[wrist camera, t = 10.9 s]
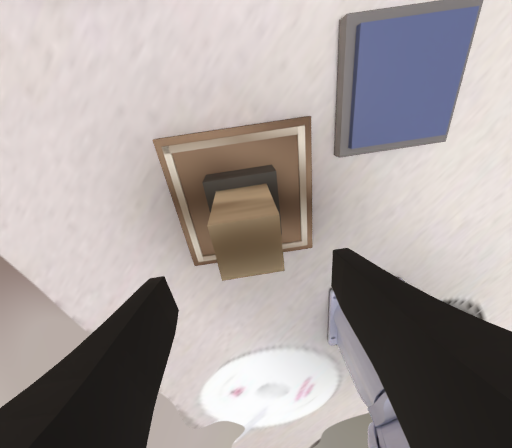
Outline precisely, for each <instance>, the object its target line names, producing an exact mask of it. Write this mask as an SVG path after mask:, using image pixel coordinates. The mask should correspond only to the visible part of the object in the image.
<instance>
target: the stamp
mask: <svg viewBox="0 0 512 448" xmlns="http://www.w3.org/2000/svg"><path fill="white" fill-rule="evenodd" d="M202 184H203V187H204V191H205V195H206V199H207V203H208V207H209V211H210V217H209V221H208V225H207V227H208V230H209V234H210V238H211V241H212V245H213V249H214V252H215V256H216V259H217V263H218V267H219V270H220V274H221V278H222V281H223V280H230V279H236V278H242V277H248V276H255V275H261V274H267V273H273V272H279V271H285V270H284V259H283V248H282V237H281V235H282V228H281V217H280V206H279V195H278V184H277V174H276V170H275V168H274V167H273V165H266V166H259V167H253V168H246V169H240V170H234V171H227V172H221V173H214V174H208V175H206V176H205V178H204V180H203V182H202Z"/></svg>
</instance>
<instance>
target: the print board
mask: <svg viewBox="0 0 512 448" xmlns="http://www.w3.org/2000/svg"><path fill="white" fill-rule="evenodd" d="M153 143H154V146H155V149H156V152H157V155H158V158H159V161H160V164H161V167H162V170H163V173H164V176H165V179H166V181H167V184H168V187H169V190H170V193H171V196H172V199H173V202H174V205H175V208H176V211H177V214H178V217H179V220H180V223H181V226H182V229H183V232H184V235H185V238H186V241H187V244H188V247H189V250H190V253H191V256H192V259H193V262H194V265H195V266H198V265H204V264H211V263H217V259H216V256H215V252H214V249H213V245H212V241H211V238H210V234H209V230H208V227H207V225H208V221H209V217H210V211H209V207H208V203H207V199H206V195H205V191H204V187H203V184H202V182H203V180H204V178H205V176H206V175H208V174H214V173H221V172H227V171H234V170H240V169H246V168H253V167H259V166H266V165H273V167H274V168H275V170H276V174H277V184H278V195H279V206H280V217H281V228H282V235H281V237H282V248H283V252H288V251H294V250H301V249H307V248H312V164H311V116H307V117H300V118H294V119H287V120H280V121H273V122H267V123H260V124H253V125H247V126H240V127H233V128H226V129H220V130H213V131H206V132H200V133H193V134H186V135H179V136H173V137H166V138H159V139H154V140H153Z"/></svg>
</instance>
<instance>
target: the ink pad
mask: <svg viewBox="0 0 512 448" xmlns="http://www.w3.org/2000/svg"><path fill="white" fill-rule="evenodd" d="M482 3H483V0H439V1H432V2H425V3H418V4H411V5H404V6H397V7H391V8H384V9H377V10H370V11H363V12H356V13H349V14H346V15H345V16H344V17H343V18H342V19H341V20H340V23H339V49H338V74H337V100H336V126H335V151H334V155H335V156H338V157H346V156H353V155H360V154H366V153H373V152H379V151H386V150H393V149H399V148H406V147H412V146H419V145H426V144H432V143H439V142H445V141H446V138H447V134H448V131H449V127H450V123H451V119H452V116H453V112H454V108H455V104H456V101H457V97H458V93H459V89H460V86H461V82H462V78H463V74H464V71H465V67H466V63H467V59H468V56H469V52H470V48H471V44H472V41H473V37H474V33H475V29H476V26H477V22H478V18H479V14H480V11H481V7H482Z"/></svg>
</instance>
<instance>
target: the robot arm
mask: <svg viewBox="0 0 512 448" xmlns="http://www.w3.org/2000/svg"><path fill="white" fill-rule="evenodd" d="M331 286H332V290H331V291H330V303H329V327H328V343H329V345H338V347H339V350H340V352H341V354H342V357H343V359H344V361H345V364H346V366H347V368H348V371H349V373H350V375H351V377H352V380H353V382H354V384H355V387H356V389H357V391H358V393H359V395H360V397H361V399H362V400H363V402H364V403H365V404H366V405H367V406H368V411H369V413H370V416H371V418H372V420H373V422H372V423H370V424H369V427H368V448H512V332H511V331H509V330H506V329H504V328H501V327H499V326H496V325H494V324H491V323H489V322H486V321H484V320H482V319H479V318H477V317H475V316H473V315H470V314H468V313H466V312H464V311H462V310H459V309H457V308H455V307H453V306H451V305H449V304H446V303H444V302H442V301H440V300H438V299H436V298H434V297H432V296H430V295H428V294H426V293H424V292H423V291H421V290H419V289H417V288H415V287H413V286H411V285H409V284H408V283H406V282H404V281H403V280H402V279H401V278H397V277H395V276H393V275H392V274H390V273H388V272H387V271H385V270H383V269H382V268H380V267H378V266H377V265H375V264H373V263H372V262H370V261H368V260H367V259H365V258H364V257H362V256H360V255H359V254H357V253H355V252H354V251H352V250H350V249H348V248H343V249H336V250H333V262H332V285H331ZM178 311H179V310H178V307H177V305H176V303H175V300H174V298H173V296H172V293H171V291H170V289H169V286H168V284H167V282H166V279H165V277H164V276H163V277H156V278H150V279H149V280H148V281H146V282H145V283H144V284H143V285H142V286H141V287H140V288H139V289H138V290H137V291H136V292H135V293H134V294H133V295H132V296H131V297H130V298H129V299H128V300H127V301H126V302H125V303H124V304H123V305H122V306H121V307H120V308H118V309H117V310H116V311H115V312H114V313H113V314H112V315H111V316H110V317H109V318H108V319H107V320H106V321H105V322H104V323H103V324H102V325H101V326H100V327H98V328H97V329H96V330H95V331H94V332H93V333H92V334H91V335H90V336H89V337H88V338H86V340H84V341H83V342H82V343H81V344H80V345H79V346H78V347H77V348H76V349H74V350H73V351H72V352H71V353H70V354H69V355H67V356H66V357H65V358H64V359H63V360H61V361H60V362H59V363H58V364H57V365H55V366H54V367H53V368H52V369H50V370H49V371H48V372H47V373H46V374H44V375H43V376H42V377H41V378H39V379H38V380H37V381H36V382H34V383H33V384H32V385H30V386H29V387H28V388H27V389H25V390H24V391H22V392H21V393H20V394H18V395H17V396H16V397H14V398H13V399H12V400H11V401H9V402H8V403H6V404H5V405H4V406H2V407H1V408H0V448H146V446H147V440H148V435H149V431H150V426H151V421H152V416H153V411H154V406H155V403H156V399H157V395H158V391H159V388H160V385H161V381H162V378H163V374H164V371H165V367H166V364H167V361H168V357H169V354H170V350H171V347H172V343H173V339H174V336H175V331H176V325H177V319H178Z"/></svg>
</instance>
